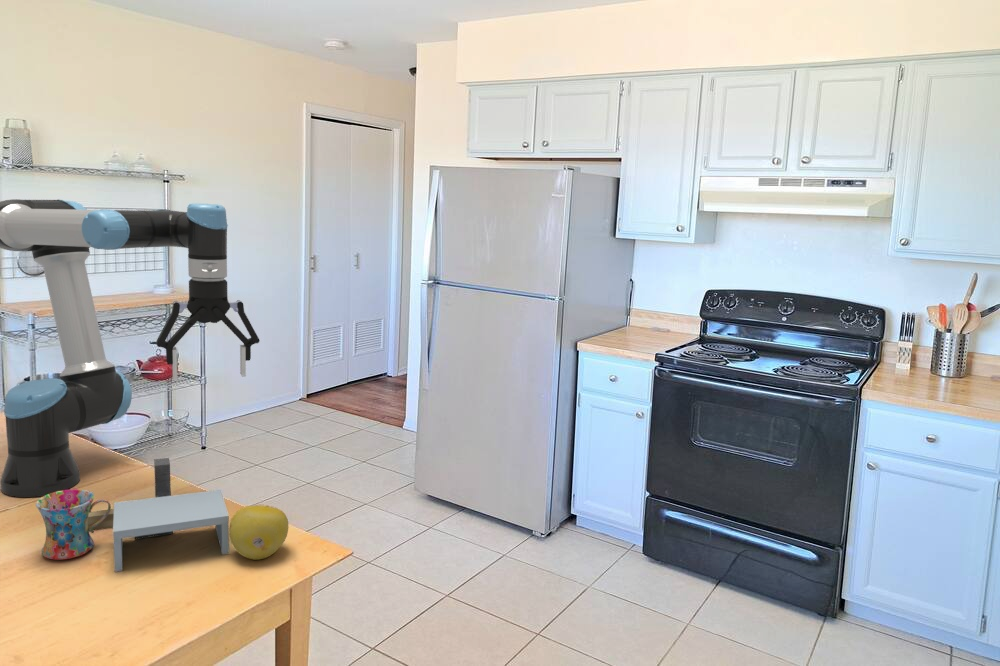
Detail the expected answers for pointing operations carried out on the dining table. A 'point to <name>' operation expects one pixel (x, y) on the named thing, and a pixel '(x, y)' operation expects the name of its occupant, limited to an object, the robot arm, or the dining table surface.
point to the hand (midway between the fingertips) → (209, 377)
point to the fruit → (258, 530)
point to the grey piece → (161, 485)
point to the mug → (68, 522)
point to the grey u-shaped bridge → (169, 518)
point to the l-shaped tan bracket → (97, 515)
